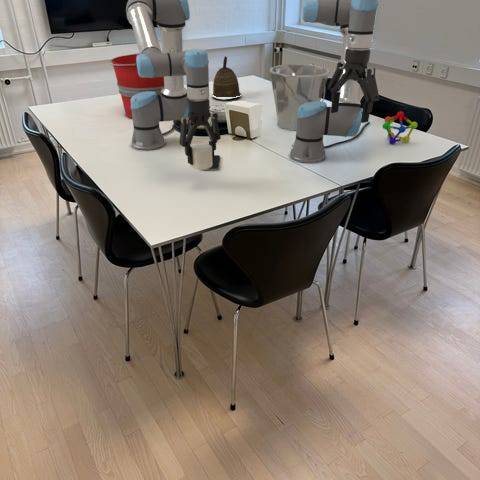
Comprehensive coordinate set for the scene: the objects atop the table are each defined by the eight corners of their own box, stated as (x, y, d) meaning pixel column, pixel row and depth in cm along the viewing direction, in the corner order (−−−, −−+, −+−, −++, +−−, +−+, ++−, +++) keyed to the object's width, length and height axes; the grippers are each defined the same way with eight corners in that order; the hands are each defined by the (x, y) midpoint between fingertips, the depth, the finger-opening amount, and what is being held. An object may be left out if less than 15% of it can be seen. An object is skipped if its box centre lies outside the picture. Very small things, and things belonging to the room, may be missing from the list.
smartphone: (200, 168, 181) (203, 155, 194) (200, 170, 182) (203, 156, 194) (218, 168, 181) (220, 155, 194) (218, 170, 182) (220, 156, 194)
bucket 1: (125, 104, 265) (117, 50, 249) (183, 105, 264) (179, 51, 248) (108, 122, 236) (99, 62, 220) (174, 123, 235) (169, 63, 219)
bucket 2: (296, 138, 215) (301, 78, 201) (255, 124, 234) (256, 68, 219) (335, 125, 232) (342, 70, 217) (294, 113, 251) (297, 61, 236)
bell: (227, 105, 294) (202, 96, 282) (238, 66, 289) (213, 55, 277) (243, 108, 280) (217, 98, 268) (255, 66, 275) (229, 55, 263)
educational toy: (377, 146, 209) (379, 114, 202) (384, 138, 219) (386, 107, 211) (411, 149, 202) (415, 116, 195) (417, 141, 212) (420, 109, 204)
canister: (208, 170, 160) (208, 152, 156) (187, 168, 162) (186, 150, 158) (215, 162, 167) (214, 144, 163) (194, 160, 168) (193, 142, 165)
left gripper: (175, 105, 144) (179, 170, 156) (230, 97, 154) (230, 158, 166) (165, 100, 149) (170, 163, 161) (219, 92, 159) (220, 152, 171)
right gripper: (321, 44, 143) (314, 110, 154) (382, 55, 126) (370, 128, 137) (337, 42, 147) (330, 106, 158) (399, 53, 129) (386, 124, 141)
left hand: (201, 161), depth 163 cm, fingers closed on canister, 8 cm apart
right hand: (348, 117), depth 148 cm, fingers open, 13 cm apart
